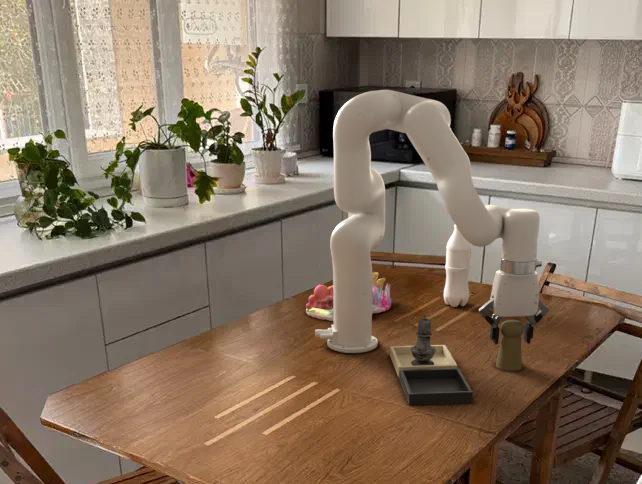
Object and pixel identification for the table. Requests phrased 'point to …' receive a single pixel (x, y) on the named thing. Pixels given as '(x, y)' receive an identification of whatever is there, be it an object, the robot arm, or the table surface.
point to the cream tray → (404, 357)
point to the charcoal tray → (435, 386)
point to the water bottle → (457, 269)
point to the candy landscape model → (323, 299)
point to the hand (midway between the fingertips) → (510, 341)
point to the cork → (510, 346)
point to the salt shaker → (423, 344)
